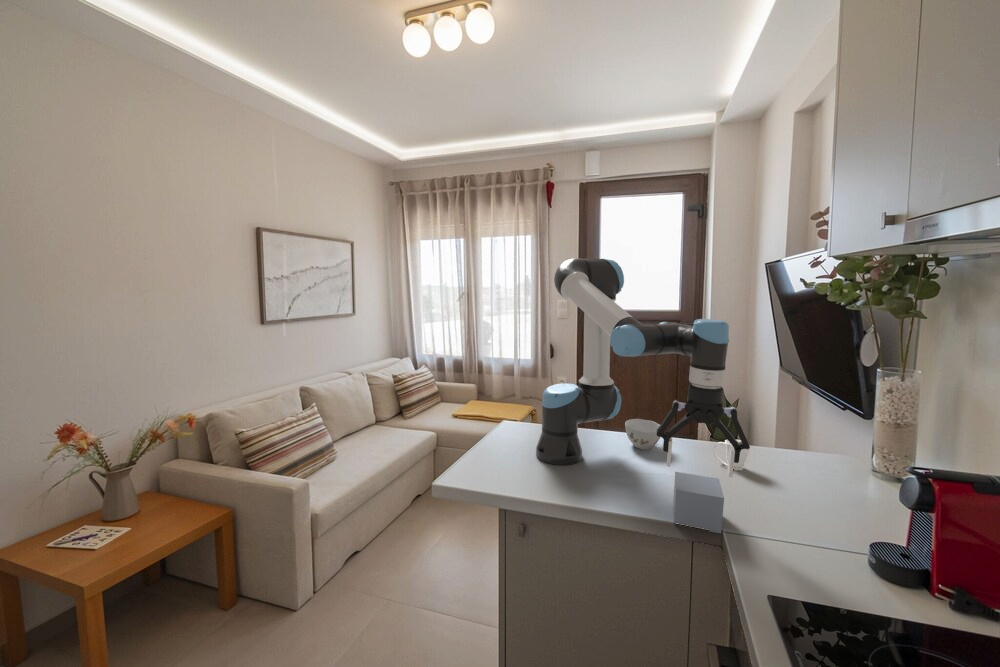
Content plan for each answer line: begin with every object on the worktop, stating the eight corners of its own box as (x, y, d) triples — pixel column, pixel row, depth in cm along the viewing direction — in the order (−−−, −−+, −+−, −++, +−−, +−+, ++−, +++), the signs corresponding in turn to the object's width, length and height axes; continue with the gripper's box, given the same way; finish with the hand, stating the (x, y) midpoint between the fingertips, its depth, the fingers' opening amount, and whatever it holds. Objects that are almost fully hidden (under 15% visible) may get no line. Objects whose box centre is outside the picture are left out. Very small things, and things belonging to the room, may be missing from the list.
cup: (745, 474, 128) (747, 449, 127) (709, 465, 134) (711, 440, 133) (750, 467, 133) (752, 442, 132) (715, 458, 140) (717, 434, 139)
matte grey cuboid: (673, 524, 102) (676, 489, 101) (673, 503, 111) (675, 471, 110) (721, 533, 98) (724, 498, 97) (716, 511, 108) (718, 478, 106)
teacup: (649, 457, 140) (650, 433, 139) (616, 445, 149) (617, 423, 148) (671, 445, 150) (673, 423, 149) (639, 435, 159) (640, 414, 158)
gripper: (649, 382, 101) (644, 466, 104) (770, 395, 92) (760, 486, 95) (650, 375, 108) (645, 454, 111) (763, 386, 99) (754, 471, 102)
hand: (698, 469), depth 103 cm, fingers open, 13 cm apart
